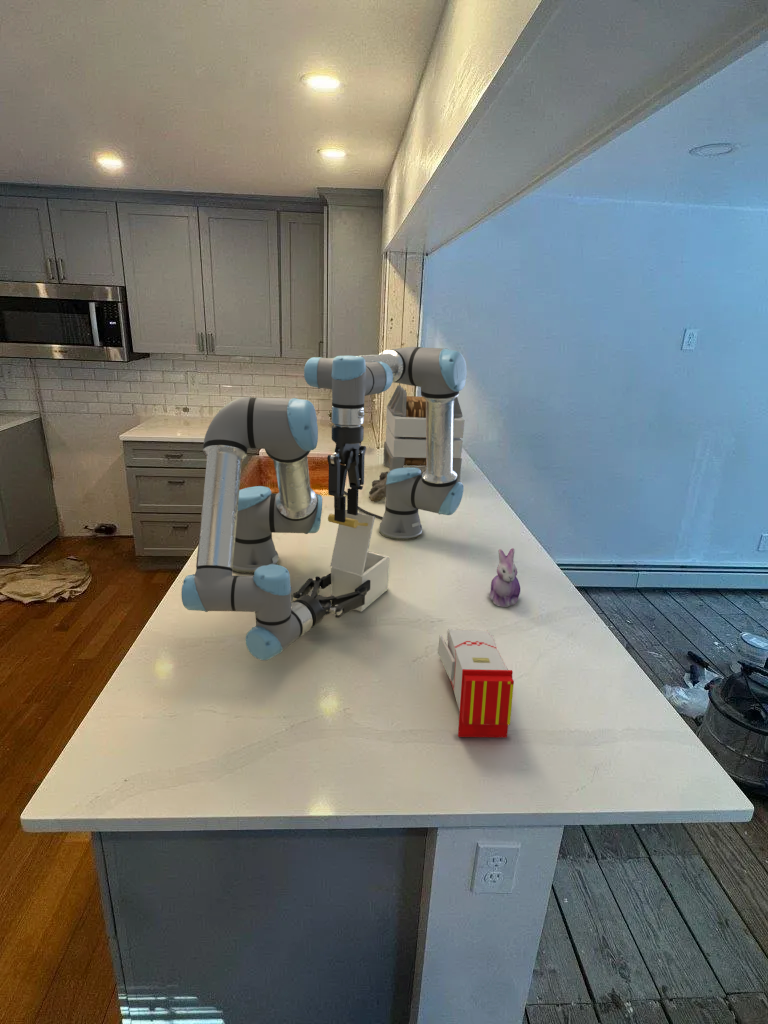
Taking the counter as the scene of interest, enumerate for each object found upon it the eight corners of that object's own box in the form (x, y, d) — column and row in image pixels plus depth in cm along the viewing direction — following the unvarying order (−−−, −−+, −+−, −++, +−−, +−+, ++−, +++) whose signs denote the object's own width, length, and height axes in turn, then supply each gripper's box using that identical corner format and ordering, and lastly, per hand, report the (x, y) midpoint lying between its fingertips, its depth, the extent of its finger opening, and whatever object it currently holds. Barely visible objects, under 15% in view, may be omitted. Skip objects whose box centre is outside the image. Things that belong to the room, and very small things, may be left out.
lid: (343, 509, 148) (326, 507, 141) (375, 516, 144) (359, 515, 136) (331, 566, 149) (314, 567, 141) (363, 575, 144) (346, 577, 137)
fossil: (368, 477, 249) (395, 458, 244) (381, 493, 252) (408, 475, 247) (361, 498, 229) (391, 478, 224) (375, 515, 232) (405, 496, 227)
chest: (358, 580, 164) (359, 548, 160) (388, 589, 160) (389, 556, 156) (330, 601, 152) (330, 567, 148) (361, 611, 148) (362, 577, 144)
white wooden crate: (382, 463, 289) (386, 382, 275) (445, 464, 293) (451, 384, 279) (390, 482, 257) (394, 392, 243) (460, 483, 261) (468, 394, 247)
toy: (488, 613, 130) (523, 677, 101) (484, 667, 133) (517, 744, 104) (435, 612, 130) (455, 676, 101) (432, 666, 133) (451, 743, 103)
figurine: (502, 611, 151) (509, 560, 146) (479, 594, 159) (485, 545, 154) (530, 604, 155) (537, 554, 150) (506, 588, 163) (512, 540, 158)
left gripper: (264, 616, 138) (317, 581, 156) (341, 644, 128) (388, 603, 146) (263, 589, 135) (317, 556, 154) (341, 615, 125) (389, 577, 144)
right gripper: (340, 433, 123) (338, 532, 131) (380, 420, 138) (377, 510, 146) (311, 428, 127) (312, 525, 135) (354, 416, 142) (352, 504, 150)
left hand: (352, 579), depth 150 cm, fingers closed on chest, 10 cm apart
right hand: (346, 517), depth 140 cm, fingers open, 5 cm apart
